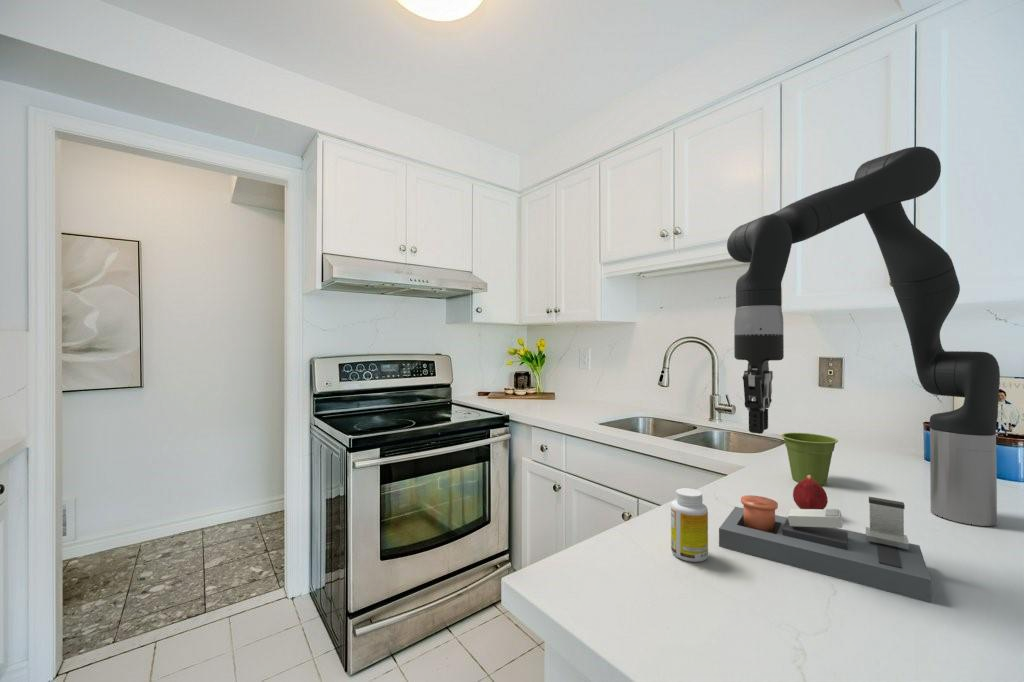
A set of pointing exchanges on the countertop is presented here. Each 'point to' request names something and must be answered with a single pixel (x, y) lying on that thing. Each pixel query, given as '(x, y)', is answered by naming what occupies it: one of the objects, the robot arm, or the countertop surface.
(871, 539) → the slide paddle
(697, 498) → the supplement bottle
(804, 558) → the control panel
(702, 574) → the countertop surface
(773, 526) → the push button
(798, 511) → the rocker switch
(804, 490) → the onion
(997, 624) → the countertop surface
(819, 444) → the plant pot
